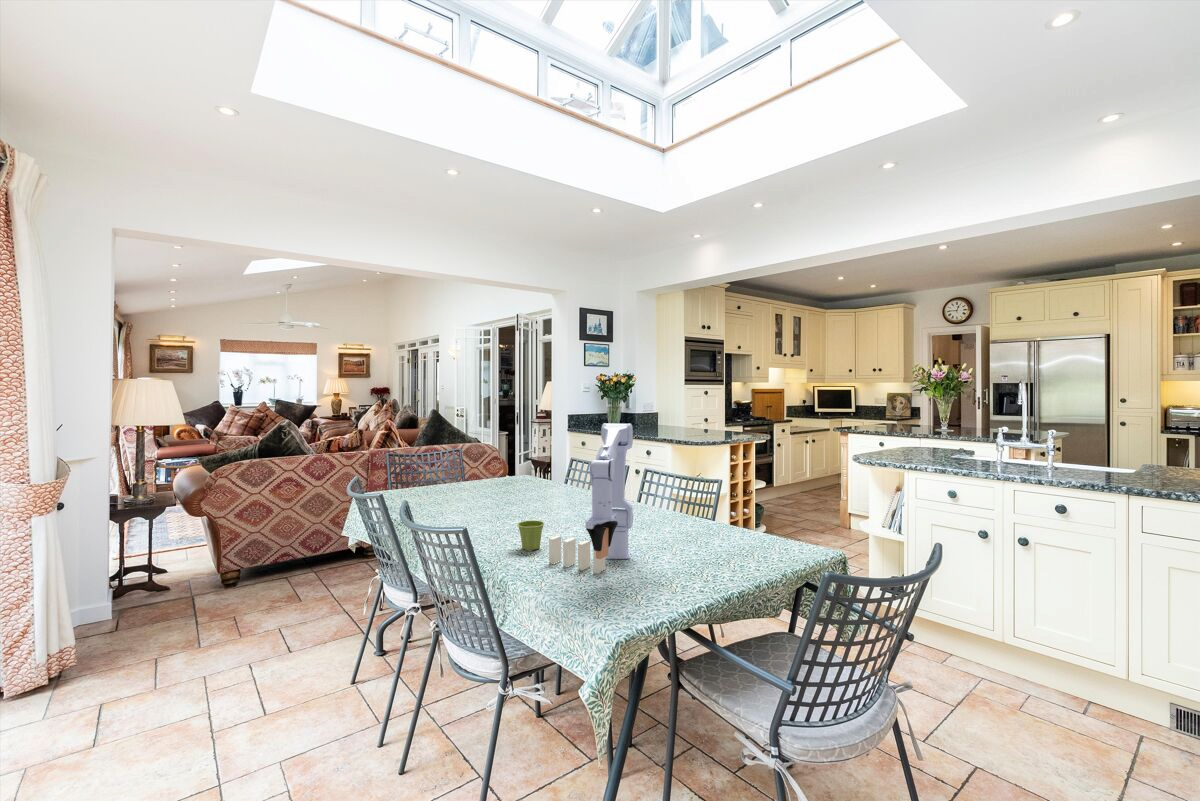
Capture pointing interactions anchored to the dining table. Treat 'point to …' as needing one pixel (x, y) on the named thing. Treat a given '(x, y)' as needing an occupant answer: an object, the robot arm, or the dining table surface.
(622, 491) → the robot arm
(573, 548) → the ivory domino
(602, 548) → the rust domino
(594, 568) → the ivory domino
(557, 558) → the ivory domino
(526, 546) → the plant pot
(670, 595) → the dining table surface
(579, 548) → the ivory domino
